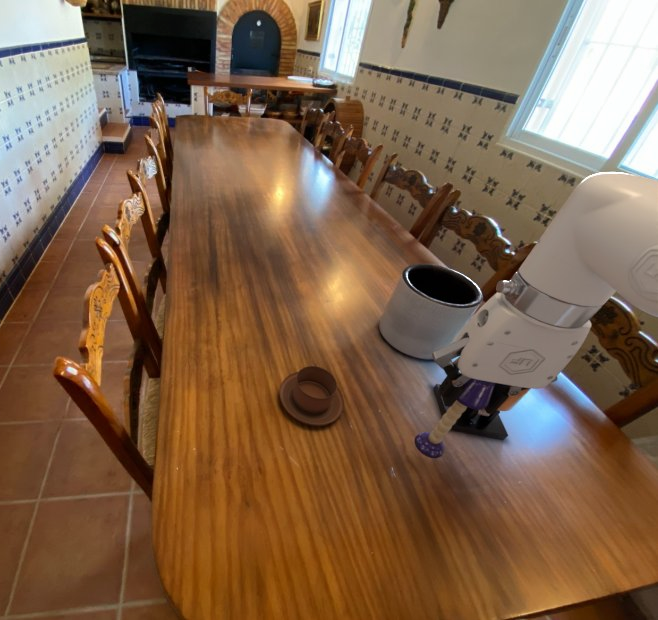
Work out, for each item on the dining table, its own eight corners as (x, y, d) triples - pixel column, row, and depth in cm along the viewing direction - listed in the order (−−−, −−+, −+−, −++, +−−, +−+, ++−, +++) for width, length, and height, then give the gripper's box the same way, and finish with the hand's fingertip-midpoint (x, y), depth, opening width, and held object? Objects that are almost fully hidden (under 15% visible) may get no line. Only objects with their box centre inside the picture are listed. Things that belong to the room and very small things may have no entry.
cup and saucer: (272, 378, 71) (277, 357, 67) (330, 376, 73) (337, 355, 69) (285, 432, 62) (291, 412, 58) (350, 428, 64) (361, 408, 60)
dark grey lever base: (504, 440, 64) (528, 416, 59) (446, 429, 65) (466, 405, 60) (484, 397, 71) (505, 373, 67) (433, 388, 72) (449, 364, 68)
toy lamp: (410, 429, 59) (458, 361, 48) (439, 433, 58) (494, 366, 48) (417, 456, 55) (471, 389, 44) (448, 461, 55) (510, 395, 44)
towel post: (503, 430, 62) (576, 357, 50) (467, 424, 62) (531, 349, 51) (489, 402, 67) (553, 329, 55) (456, 396, 67) (512, 322, 55)
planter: (363, 323, 86) (385, 269, 76) (411, 308, 92) (437, 257, 82) (413, 371, 76) (446, 316, 66) (464, 351, 81) (502, 297, 71)
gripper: (477, 307, 35) (407, 413, 47) (662, 335, 34) (542, 437, 46) (454, 266, 41) (396, 370, 53) (612, 289, 40) (517, 390, 51)
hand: (465, 400), depth 49 cm, fingers closed on toy lamp, 4 cm apart
